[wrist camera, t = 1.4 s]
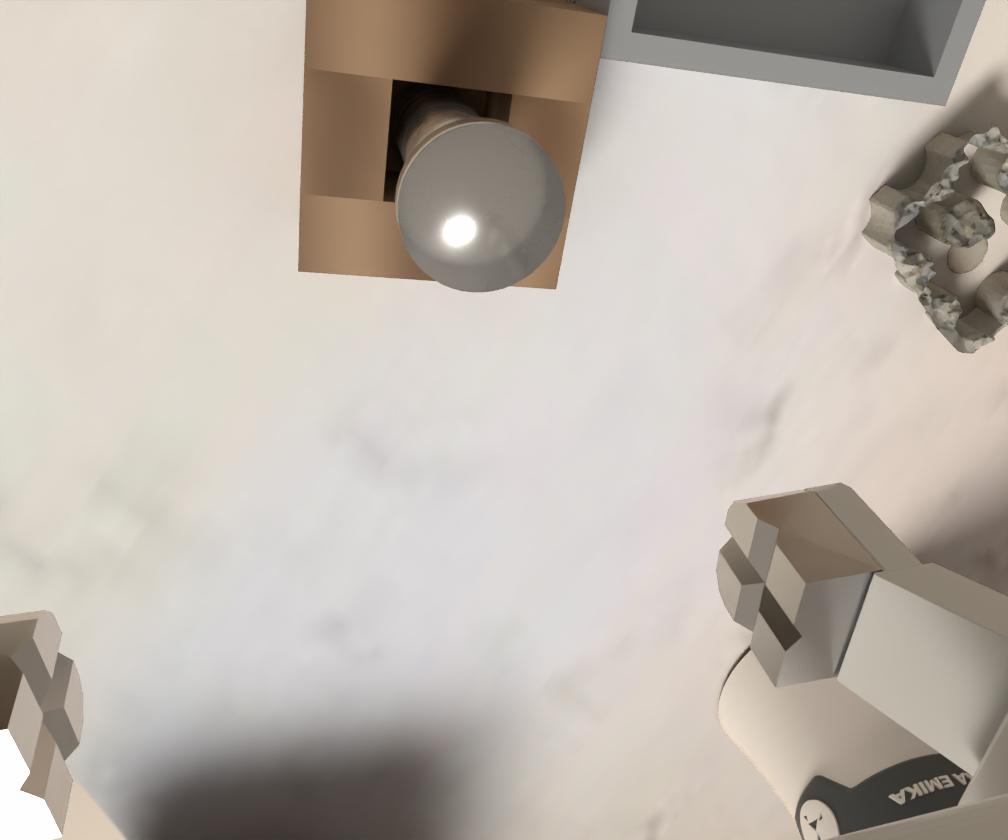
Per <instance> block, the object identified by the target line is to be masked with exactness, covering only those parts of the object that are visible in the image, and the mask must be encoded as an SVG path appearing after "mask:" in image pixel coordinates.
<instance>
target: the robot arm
mask: <svg viewBox="0 0 1008 840" xmlns="http://www.w3.org/2000/svg"><path fill="white" fill-rule="evenodd" d="M725 526H726V528H727V529H728V530H729V532H730V533H731V535H732V537H731V539H730V540H729V541H728V542H727V543H726V544H725V545H724V546H723V547H722V548H721V549H720V551H719V556H718V562H717V569H716V572H717V579H718V587H719V592H720V594H721V597H722V600H723V602H724V605H725V607H726V609H727V610H728V612H729V614H730V615H731V617H732V619H733V620H734V621H735V622H737V623H739V624H740V625H742V626H744V627H746V628H747V629H749V630H751V631H752V632H753V633H752V638H751V644H750V648H751V650H750V651H749V652H748V653H747V654H746V655H745V656H744V657H743V659H742V660H741V661H740V662H739V663H738V665H737V666H736V667H735V668H734V670H733V671H732V673H731V674H730V676H729V678H728V679H727V681H726V683H725V685H724V688H723V690H722V693H721V696H720V700H719V709H718V712H719V720H720V724H721V726H722V728H723V730H724V732H725V733H726V735H727V736H728V737H729V738H730V739H731V740H732V741H733V742H734V743H735V744H736V745H737V746H738V747H739V748H740V749H741V750H742V751H743V752H744V754H745V755H746V756H747V757H748V758H749V759H750V760H751V762H752V763H753V764H754V765H755V766H756V768H757V769H758V770H759V771H760V773H761V774H762V775H763V776H764V778H765V779H766V780H767V782H768V783H769V784H770V786H771V787H772V789H773V790H774V791H775V793H776V794H777V795H778V797H779V798H780V800H781V801H782V802H783V804H784V805H785V807H786V808H787V810H788V811H789V813H790V814H791V816H792V817H793V819H794V820H795V822H796V824H797V826H798V829H799V832H800V835H801V837H802V840H1008V596H1006V595H1004V594H1001V593H999V592H997V591H995V590H993V589H990V588H988V587H986V586H984V585H981V584H979V583H977V582H975V581H973V580H970V579H968V578H966V577H964V576H962V575H959V574H957V573H955V572H953V571H950V570H948V569H946V568H944V567H942V566H939V565H937V564H935V563H927V564H922V563H921V562H920V561H919V560H918V559H917V558H916V557H915V556H914V555H913V554H912V553H911V552H910V551H909V549H908V548H907V547H906V546H905V545H904V544H903V543H902V542H901V541H900V540H899V539H898V538H897V537H896V536H895V534H894V533H893V532H892V531H891V530H890V529H889V528H888V527H887V526H886V525H885V524H884V523H883V522H882V520H881V519H880V518H879V517H878V516H877V515H876V514H875V513H874V512H873V511H872V510H871V509H870V508H869V506H868V505H867V504H866V503H865V502H864V501H863V500H862V499H861V498H860V497H859V496H858V495H857V494H856V492H855V491H854V490H853V489H852V488H850V487H849V486H847V485H845V484H842V483H836V484H830V485H824V486H818V487H813V488H807V489H805V490H797V491H791V492H785V493H779V494H773V495H767V496H761V497H755V498H749V499H743V500H737V501H734V502H733V504H732V505H731V506H730V508H729V509H728V513H727V517H726V521H725ZM61 636H62V632H61V630H60V628H59V625H58V623H57V621H56V619H55V617H54V615H53V613H52V612H48V611H45V610H43V611H35V612H28V613H21V614H13V615H6V616H0V840H50V839H54V838H58V837H62V834H63V828H64V823H65V818H66V813H67V808H68V803H69V797H70V792H71V787H72V782H73V779H72V777H71V775H70V773H69V770H68V768H67V766H66V764H65V760H66V759H67V758H68V756H69V755H70V754H71V753H72V752H73V751H74V750H75V749H76V748H77V746H78V745H79V744H80V738H81V732H82V726H83V692H82V687H81V682H80V677H79V674H78V671H77V669H76V666H75V664H74V661H73V660H71V659H69V658H68V657H66V656H64V655H62V654H60V653H58V650H59V645H60V641H61Z"/></svg>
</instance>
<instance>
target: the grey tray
mask: <svg viewBox="0 0 1008 840" xmlns="http://www.w3.org/2000/svg"><path fill="white" fill-rule="evenodd" d="M985 1H986V0H575V4H577V5H580V6H582V7H585V8H588V9H590V10H593V11H596V12H599V13H601V14H604V15H607V21H606V26H605V32H604V37H603V42H602V48H601V53H600V58H604V59H611V60H618V61H625V62H633V63H640V64H647V65H654V66H661V67H668V68H675V69H683V70H690V71H697V72H704V73H711V74H718V75H726V76H733V77H740V78H747V79H754V80H761V81H769V82H776V83H783V84H790V85H797V86H804V87H811V88H819V89H826V90H833V91H840V92H847V93H854V94H862V95H869V96H876V97H883V98H890V99H897V100H904V101H912V102H919V103H926V104H933V105H940V106H946V103H947V101H948V98H949V95H950V93H951V90H952V87H953V85H954V82H955V80H956V77H957V74H958V72H959V69H960V67H961V64H962V61H963V59H964V56H965V53H966V51H967V48H968V46H969V43H970V40H971V38H972V35H973V33H974V30H975V27H976V25H977V22H978V20H979V17H980V14H981V12H982V9H983V6H984V4H985Z"/></svg>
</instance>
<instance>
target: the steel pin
mask: <svg viewBox="0 0 1008 840" xmlns="http://www.w3.org/2000/svg"><path fill="white" fill-rule="evenodd" d="M391 126H392V131H393V135H394V137H395V140H396V143H397V145H398V148H399V151H400V153H401V156H402V159H403V161H404V165H403V168H402V170H401V172H400V175H399V178H398V182H397V186H396V193H395V210H396V218H397V222H398V226H399V229H400V233H401V236H402V239H403V242H404V244H405V247H406V249H407V251H408V252H409V254H410V256H411V257H412V259H413V260H414V261H415V263H416V264H417V265H418V266H419V267H420V268H421V269H422V270H423V271H424V272H425V273H426V274H427V275H428V276H430V277H431V278H432V279H434V280H436V281H437V282H439V283H441V284H443V285H445V286H448V287H450V288H453V289H457V290H461V291H467V292H489V291H495V290H499V289H503V288H506V287H508V286H511V285H513V284H515V283H517V282H519V281H521V280H523V279H524V278H526V277H527V276H529V275H530V274H532V273H533V272H534V271H535V270H536V269H537V268H538V267H539V266H540V265H541V264H542V263H543V262H544V261H545V260H546V259H547V257H548V256H549V254H550V253H551V251H552V250H553V248H554V246H555V244H556V243H557V241H558V238H559V236H560V233H561V230H562V226H563V222H564V216H565V193H564V187H563V183H562V180H561V177H560V174H559V172H558V170H557V168H556V166H555V164H554V163H553V161H552V159H551V158H550V157H549V155H548V154H547V153H546V152H545V150H544V149H543V148H542V147H541V146H540V145H539V144H538V143H537V142H536V141H535V140H534V139H533V138H532V137H531V136H529V135H528V134H527V133H526V132H524V131H523V130H521V129H520V128H518V127H516V126H514V125H512V124H510V123H507V122H504V121H501V120H498V119H492V118H482V117H479V116H478V114H477V113H476V112H475V111H474V109H473V108H472V107H471V106H470V104H469V103H468V102H467V101H466V99H465V98H464V97H463V96H462V95H461V93H460V92H459V91H458V90H457V89H456V88H454V87H451V86H443V85H435V84H427V83H419V82H416V83H414V84H412V85H410V86H409V87H407V88H406V89H405V90H404V91H403V92H402V93H401V94H400V95H399V97H398V98H397V100H396V102H395V104H394V107H393V110H392V116H391Z"/></svg>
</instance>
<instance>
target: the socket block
mask: <svg viewBox="0 0 1008 840" xmlns="http://www.w3.org/2000/svg"><path fill="white" fill-rule="evenodd" d="M606 21H607V15H604V14H601V13H599V12H596V11H593V10H590V9H588V8H585V7H582V6H580V5H577V4H574V3H571V2H569V1H566V0H306V30H305V62H304V94H303V126H302V157H301V189H300V221H299V263H298V271H299V272H314V273H328V274H343V275H357V276H371V277H386V278H400V279H415V280H429V281H436V280H434V279H432V278H431V277H430V276H428V275H427V274H426V273H425V272H424V271H423V270H422V269H421V268H420V267H419V266H418V265H417V264H416V263H415V261H414V260H413V259H412V257H411V256H410V254H409V252H408V251H407V249H406V247H405V244H404V242H403V239H402V236H401V233H400V229H399V226H398V222H397V218H396V210H395V193H396V186H397V182H398V178H399V175H400V172H401V170H402V168H403V165H404V161H403V159H402V156H401V153H400V151H399V148H398V145H397V143H396V140H395V137H394V135H393V131H392V126H391V116H392V110H393V107H394V104H395V102H396V100H397V98H398V97H399V95H400V94H401V93H402V92H403V91H404V90H405V89H406V88H407V87H409V86H410V85H412V84H414V83H416V82H419V83H427V84H435V85H443V86H451V87H454V88H456V89H457V90H458V91H459V92H460V93H461V95H462V96H463V97H464V98H465V99H466V101H467V102H468V103H469V104H470V106H471V107H472V108H473V109H474V111H475V112H476V113H477V114H478V116H479V117H482V118H492V119H498V120H501V121H504V122H507V123H510V124H512V125H514V126H516V127H518V128H520V129H521V130H523V131H524V132H526V133H527V134H528V135H529V136H531V137H532V138H533V139H534V140H535V141H536V142H537V143H538V144H539V145H540V146H541V147H542V148H543V149H544V150H545V152H546V153H547V154H548V155H549V157H550V158H551V159H552V161H553V163H554V164H555V166H556V168H557V170H558V172H559V174H560V177H561V180H562V183H563V187H564V193H565V216H564V222H563V226H562V230H561V233H560V236H559V238H558V241H557V243H556V244H555V246H554V248H553V250H552V251H551V253H550V254H549V256H548V257H547V259H546V260H545V261H544V262H543V263H542V264H541V265H540V266H539V267H538V268H537V269H536V270H535V271H534V272H533V273H532V274H530V275H529V276H527V277H526V278H524V279H523V280H521V281H519V282H517V283H515V284H513V285H511V286H515V287H530V288H544V289H556V286H557V281H558V276H559V270H560V265H561V260H562V254H563V249H564V244H565V239H566V233H567V228H568V223H569V217H570V212H571V207H572V201H573V196H574V191H575V186H576V180H577V175H578V170H579V164H580V159H581V154H582V148H583V143H584V138H585V133H586V127H587V122H588V117H589V111H590V106H591V101H592V95H593V90H594V85H595V80H596V74H597V69H598V64H599V58H600V53H601V48H602V42H603V37H604V32H605V26H606Z"/></svg>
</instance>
